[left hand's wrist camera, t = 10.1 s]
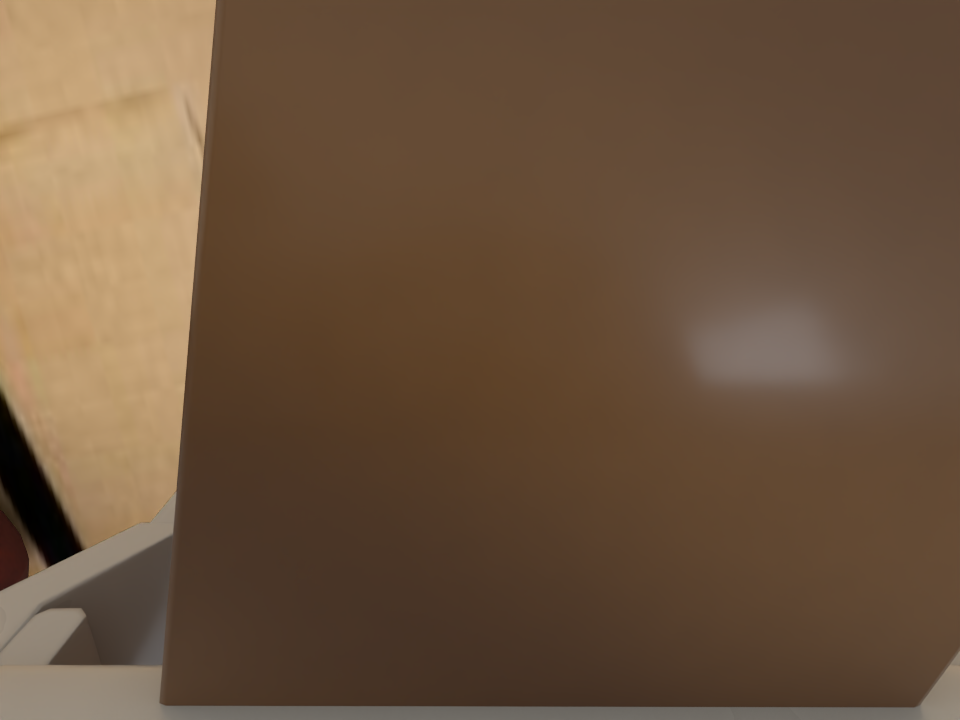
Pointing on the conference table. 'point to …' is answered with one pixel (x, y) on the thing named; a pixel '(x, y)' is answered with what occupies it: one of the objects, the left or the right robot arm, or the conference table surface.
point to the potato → (11, 554)
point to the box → (573, 356)
